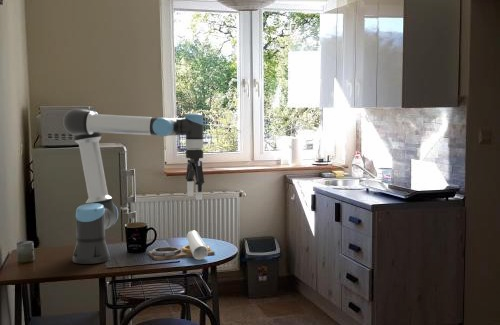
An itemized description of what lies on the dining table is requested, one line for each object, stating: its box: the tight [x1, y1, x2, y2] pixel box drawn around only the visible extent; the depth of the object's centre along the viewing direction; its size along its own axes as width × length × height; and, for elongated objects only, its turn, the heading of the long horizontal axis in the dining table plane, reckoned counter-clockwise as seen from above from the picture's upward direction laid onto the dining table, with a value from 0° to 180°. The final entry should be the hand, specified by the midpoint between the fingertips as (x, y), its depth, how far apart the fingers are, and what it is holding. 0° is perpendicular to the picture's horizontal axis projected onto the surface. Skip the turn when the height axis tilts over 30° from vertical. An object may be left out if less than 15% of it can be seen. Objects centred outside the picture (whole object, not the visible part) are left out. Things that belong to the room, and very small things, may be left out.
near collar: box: [151, 246, 181, 256], centre depth 251 cm, size 12×12×2 cm
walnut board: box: [148, 247, 215, 261], centre depth 253 cm, size 26×13×1 cm, turn 112°
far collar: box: [181, 244, 211, 253], centre depth 256 cm, size 12×12×2 cm
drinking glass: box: [186, 230, 209, 261], centre depth 248 cm, size 7×7×15 cm
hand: (194, 197), depth 254 cm, fingers open, 13 cm apart
